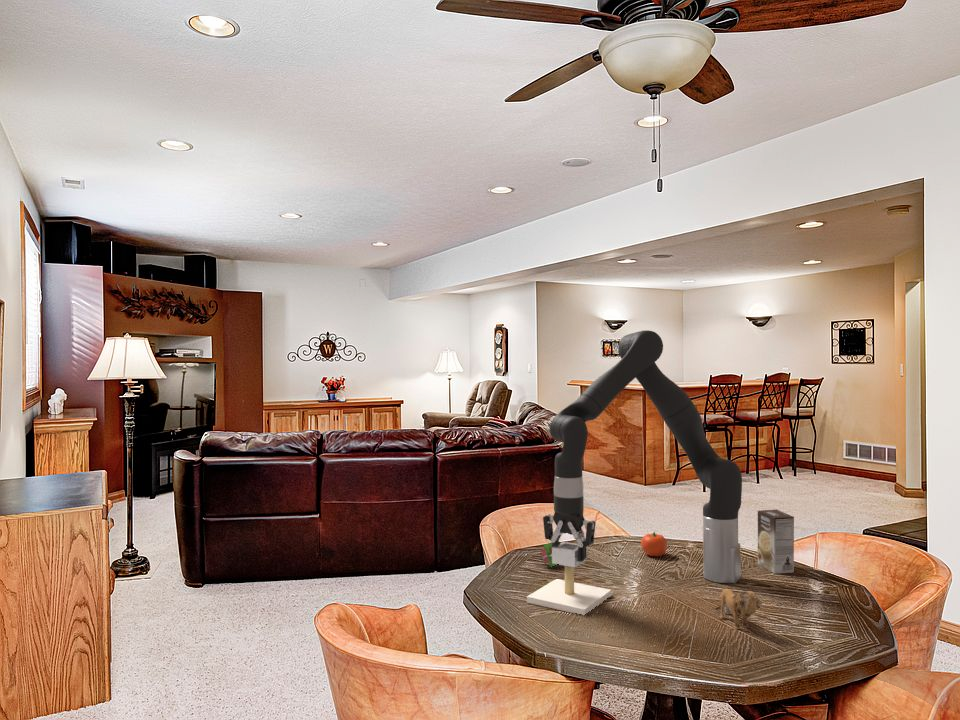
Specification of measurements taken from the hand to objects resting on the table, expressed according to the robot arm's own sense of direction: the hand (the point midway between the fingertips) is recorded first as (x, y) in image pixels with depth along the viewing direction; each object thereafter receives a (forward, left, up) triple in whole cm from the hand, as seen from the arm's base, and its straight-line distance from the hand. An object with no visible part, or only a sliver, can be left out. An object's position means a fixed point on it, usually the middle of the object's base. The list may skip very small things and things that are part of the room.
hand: (569, 558), depth 173 cm
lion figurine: (-40, -7, -11) cm, 42 cm away
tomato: (-5, -48, -11) cm, 49 cm away
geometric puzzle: (+17, -22, -11) cm, 30 cm away
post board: (0, 0, -10) cm, 10 cm away
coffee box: (-39, -54, -11) cm, 67 cm away
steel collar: (0, 0, -1) cm, 1 cm away
